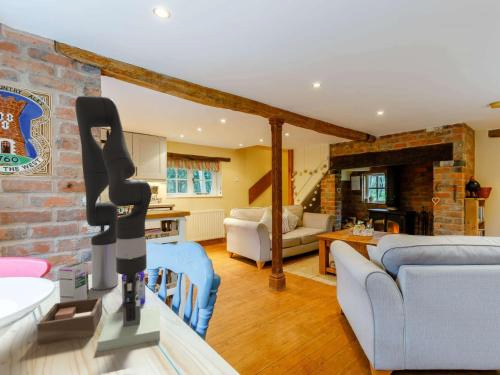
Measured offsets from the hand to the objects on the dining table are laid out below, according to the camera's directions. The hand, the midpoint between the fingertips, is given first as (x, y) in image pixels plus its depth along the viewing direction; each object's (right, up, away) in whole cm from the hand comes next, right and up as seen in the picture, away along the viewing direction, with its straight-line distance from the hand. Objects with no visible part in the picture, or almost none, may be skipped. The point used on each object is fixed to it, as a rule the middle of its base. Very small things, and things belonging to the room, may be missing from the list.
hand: (132, 312), depth 71 cm
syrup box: (-25, -6, +14) cm, 30 cm away
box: (-17, -6, +1) cm, 18 cm away
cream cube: (-14, -5, 0) cm, 15 cm away
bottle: (-7, -6, +17) cm, 19 cm away
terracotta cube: (-20, -5, +3) cm, 21 cm away
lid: (0, -6, 0) cm, 6 cm away
